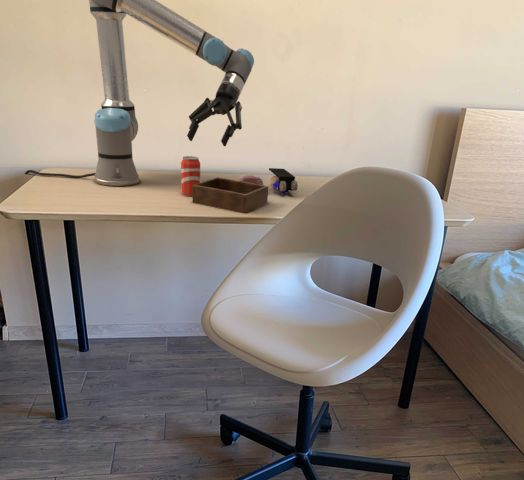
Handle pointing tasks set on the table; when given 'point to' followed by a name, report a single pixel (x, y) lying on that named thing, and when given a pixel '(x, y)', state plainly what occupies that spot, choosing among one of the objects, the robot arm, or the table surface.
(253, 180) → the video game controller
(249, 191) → the brown wooden box
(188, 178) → the beverage can
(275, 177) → the figurine character
